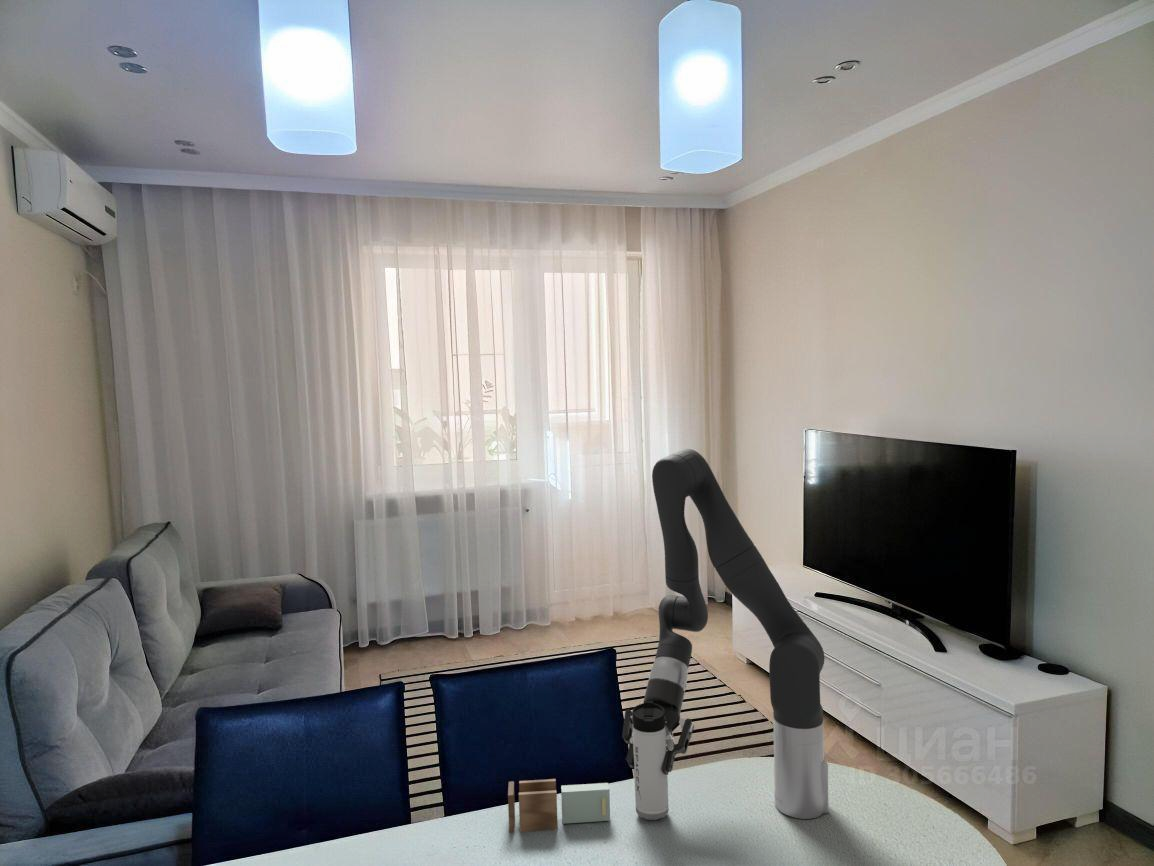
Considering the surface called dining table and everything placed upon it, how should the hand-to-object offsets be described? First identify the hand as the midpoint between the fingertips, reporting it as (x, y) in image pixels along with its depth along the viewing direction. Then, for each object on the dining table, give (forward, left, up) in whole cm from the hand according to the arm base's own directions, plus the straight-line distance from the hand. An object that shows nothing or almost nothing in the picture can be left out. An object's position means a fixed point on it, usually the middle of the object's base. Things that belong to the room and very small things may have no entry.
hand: (647, 769), depth 138 cm
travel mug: (-1, -2, -9) cm, 9 cm away
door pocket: (+21, -1, -10) cm, 23 cm away
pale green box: (+12, -1, -10) cm, 15 cm away
